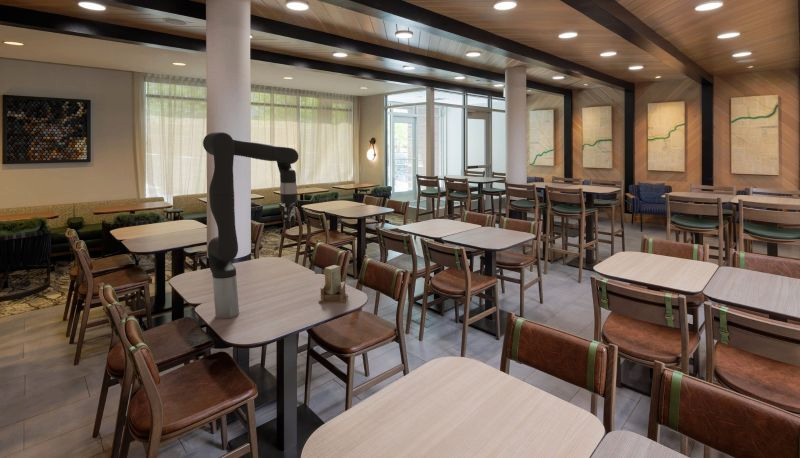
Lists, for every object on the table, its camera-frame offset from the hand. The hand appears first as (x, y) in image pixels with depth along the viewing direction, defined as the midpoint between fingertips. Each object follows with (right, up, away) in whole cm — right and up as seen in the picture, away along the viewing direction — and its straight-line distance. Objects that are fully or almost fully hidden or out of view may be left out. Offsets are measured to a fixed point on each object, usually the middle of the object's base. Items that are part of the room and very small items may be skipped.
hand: (290, 227), depth 200 cm
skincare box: (+20, -30, +1) cm, 36 cm away
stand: (+20, -34, +2) cm, 39 cm away
